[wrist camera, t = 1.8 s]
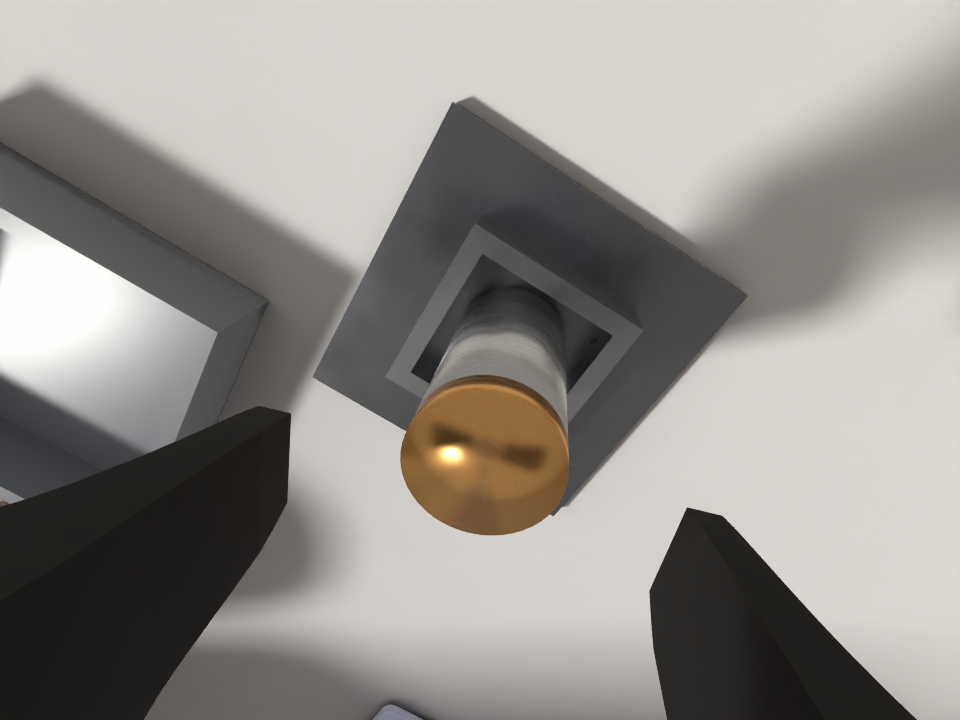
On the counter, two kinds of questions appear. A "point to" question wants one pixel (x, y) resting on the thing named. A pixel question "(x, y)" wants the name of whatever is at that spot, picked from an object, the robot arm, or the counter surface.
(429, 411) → the grey and gold cylinder
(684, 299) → the socket base
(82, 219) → the bin
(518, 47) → the counter surface
